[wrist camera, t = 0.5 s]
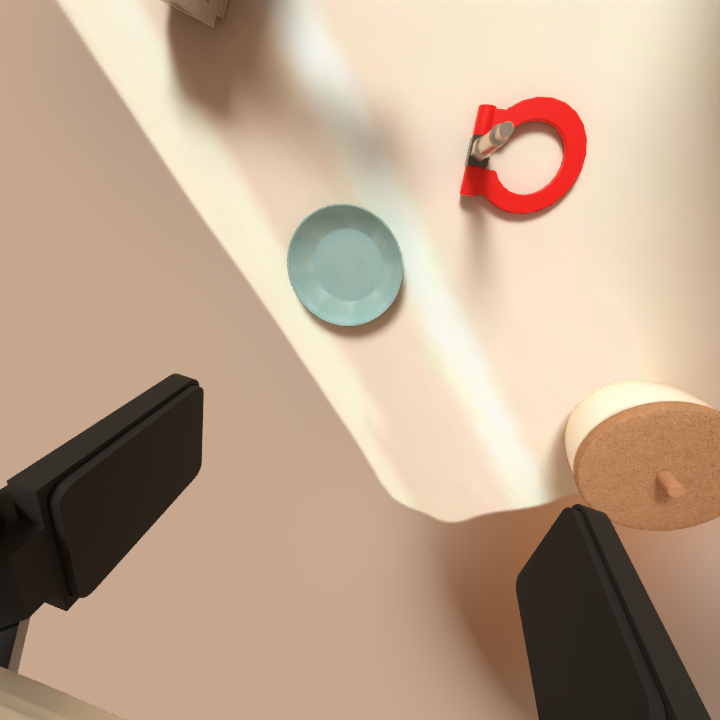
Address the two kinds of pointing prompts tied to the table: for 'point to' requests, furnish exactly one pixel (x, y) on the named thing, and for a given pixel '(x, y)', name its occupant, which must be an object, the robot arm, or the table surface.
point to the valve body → (201, 9)
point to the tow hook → (496, 131)
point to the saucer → (345, 264)
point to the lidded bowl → (646, 455)
